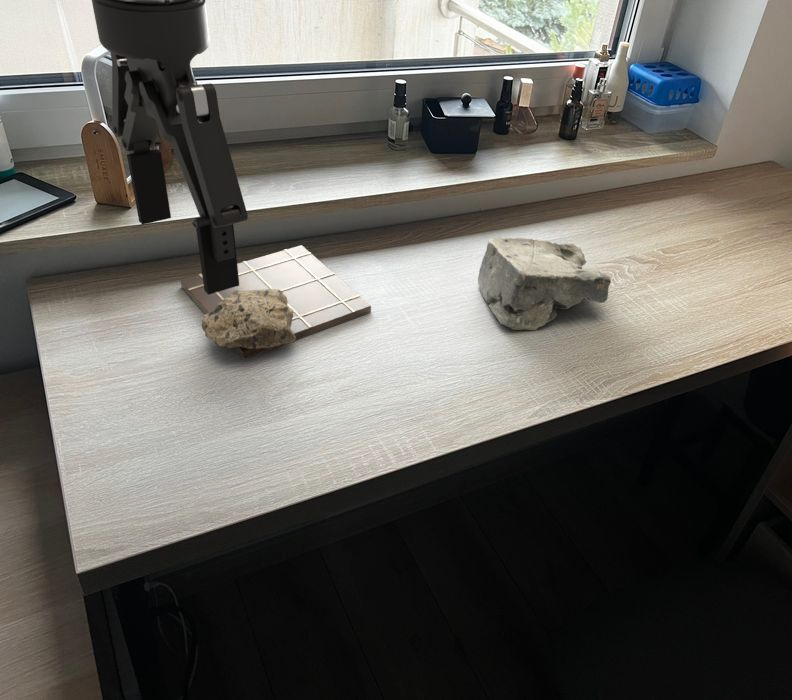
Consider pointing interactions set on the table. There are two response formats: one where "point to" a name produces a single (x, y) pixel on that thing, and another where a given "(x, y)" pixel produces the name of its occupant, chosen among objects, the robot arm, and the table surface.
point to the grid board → (290, 291)
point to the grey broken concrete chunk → (536, 280)
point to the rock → (250, 320)
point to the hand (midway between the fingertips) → (186, 252)
